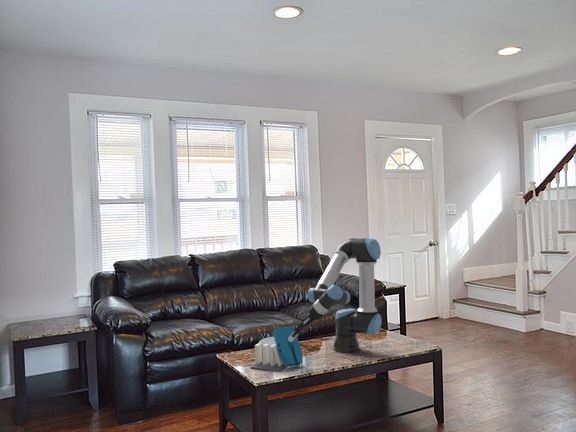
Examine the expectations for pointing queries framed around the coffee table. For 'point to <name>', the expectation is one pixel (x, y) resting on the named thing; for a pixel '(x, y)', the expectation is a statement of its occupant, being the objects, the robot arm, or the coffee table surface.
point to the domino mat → (268, 367)
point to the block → (288, 346)
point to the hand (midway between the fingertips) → (289, 340)
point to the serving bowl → (268, 341)
